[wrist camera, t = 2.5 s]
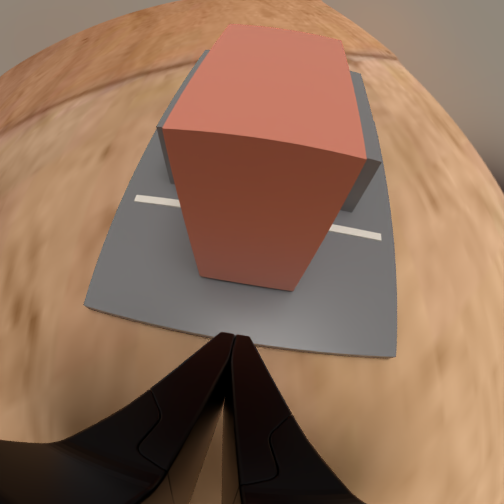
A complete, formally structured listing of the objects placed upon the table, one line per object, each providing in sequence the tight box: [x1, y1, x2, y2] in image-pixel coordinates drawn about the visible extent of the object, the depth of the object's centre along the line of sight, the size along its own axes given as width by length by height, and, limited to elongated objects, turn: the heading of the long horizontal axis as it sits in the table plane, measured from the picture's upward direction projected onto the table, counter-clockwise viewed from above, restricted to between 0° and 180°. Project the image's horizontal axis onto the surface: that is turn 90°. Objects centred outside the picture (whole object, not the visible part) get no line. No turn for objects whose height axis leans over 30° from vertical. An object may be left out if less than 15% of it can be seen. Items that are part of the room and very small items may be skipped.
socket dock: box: [84, 50, 397, 358], centre depth 17 cm, size 20×18×6 cm
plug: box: [162, 24, 367, 291], centre depth 13 cm, size 8×5×10 cm, turn 171°
